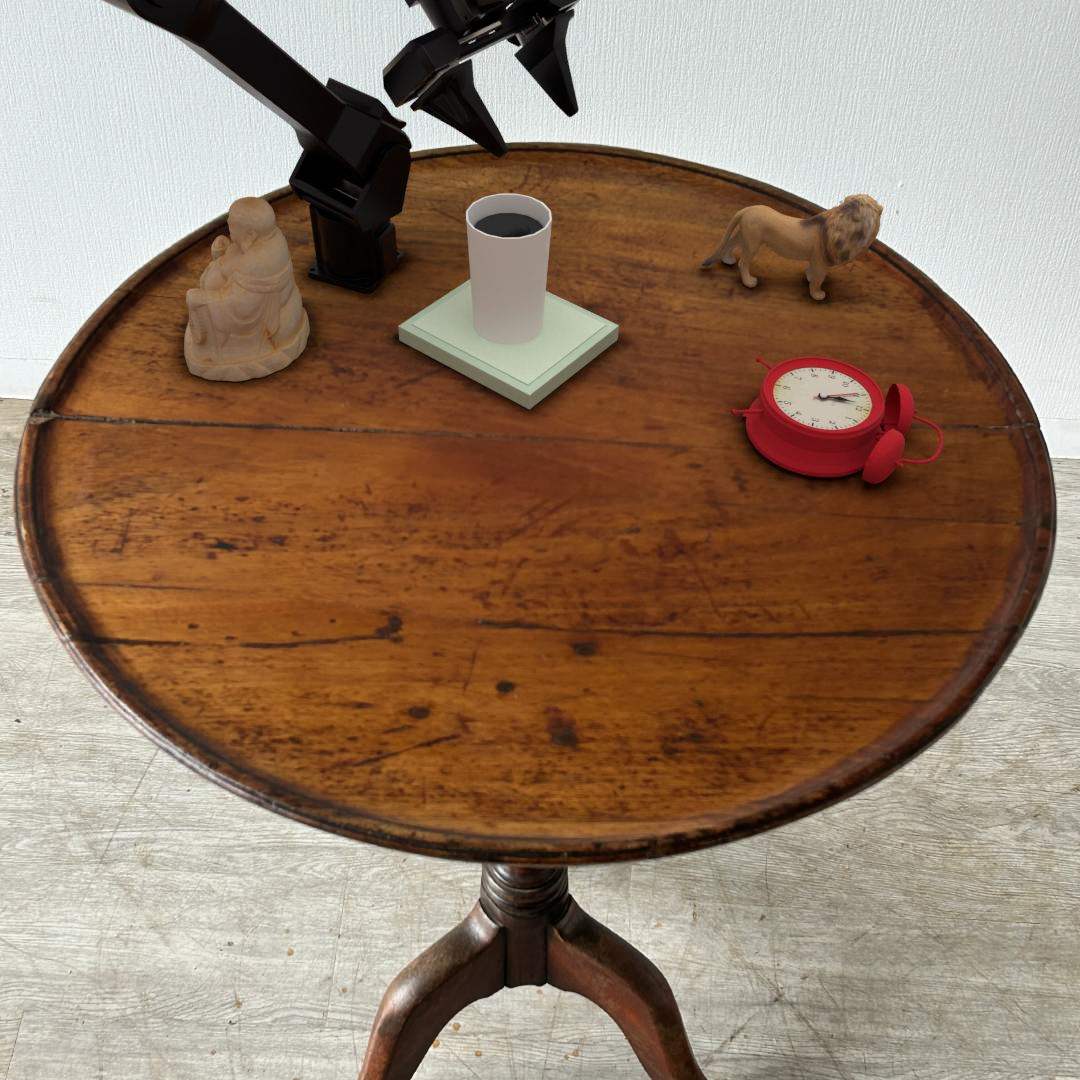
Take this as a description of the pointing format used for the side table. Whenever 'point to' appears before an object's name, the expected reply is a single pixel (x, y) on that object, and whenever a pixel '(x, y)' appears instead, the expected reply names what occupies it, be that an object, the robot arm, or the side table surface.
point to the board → (510, 345)
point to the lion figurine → (803, 237)
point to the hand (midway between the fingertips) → (540, 134)
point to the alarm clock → (831, 420)
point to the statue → (246, 301)
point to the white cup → (508, 265)
